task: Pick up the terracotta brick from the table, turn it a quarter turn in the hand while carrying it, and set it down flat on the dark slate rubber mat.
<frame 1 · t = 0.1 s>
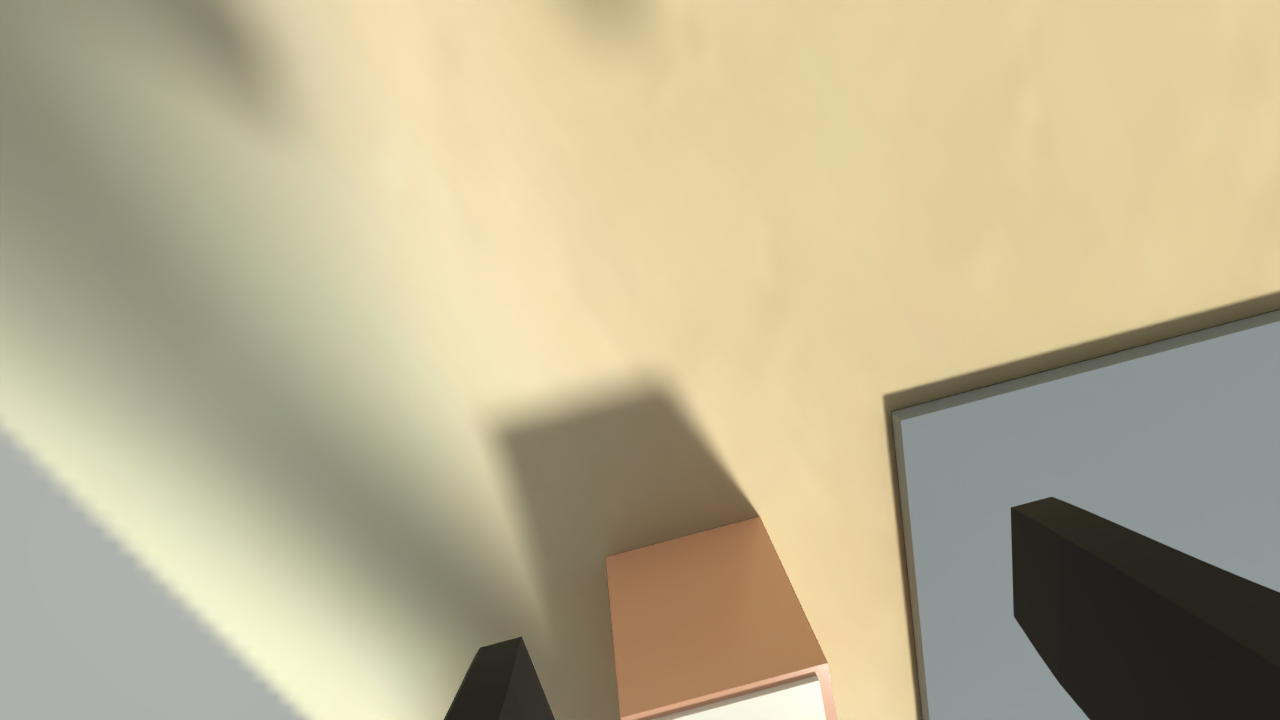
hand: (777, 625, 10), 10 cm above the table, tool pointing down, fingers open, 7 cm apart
brick: (709, 639, 23), on the table
mat: (1106, 560, 23), on the table
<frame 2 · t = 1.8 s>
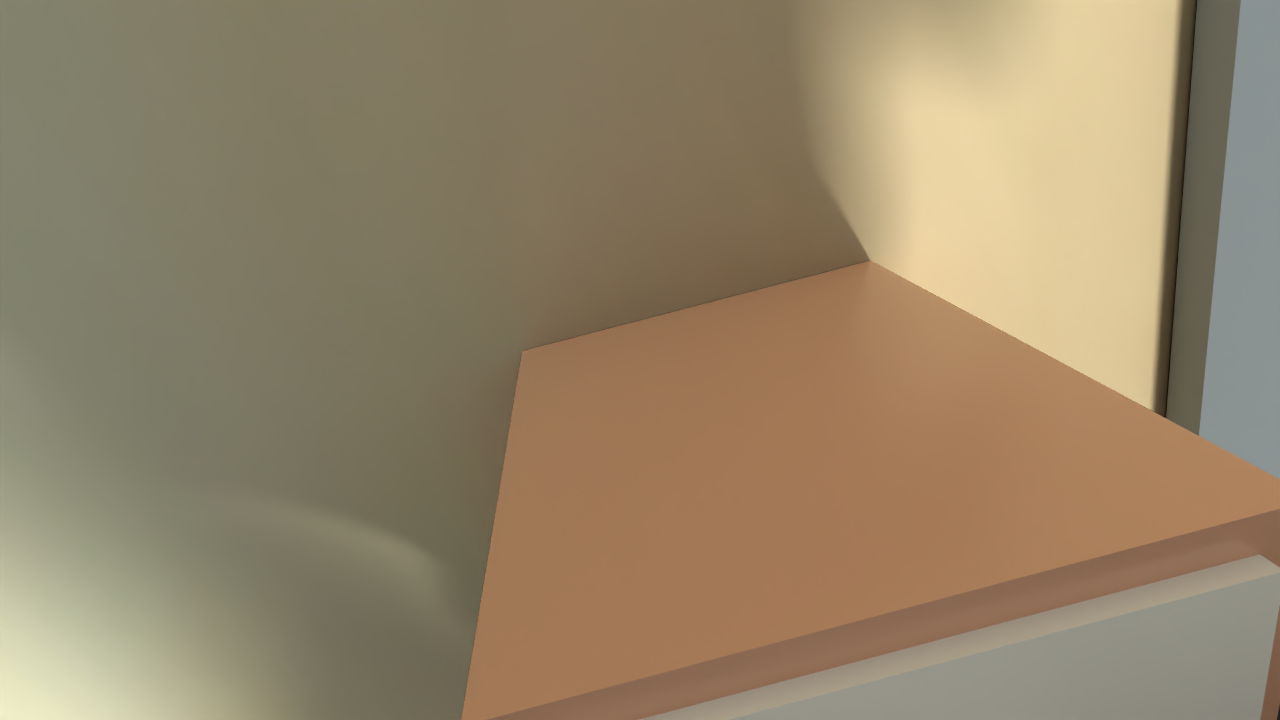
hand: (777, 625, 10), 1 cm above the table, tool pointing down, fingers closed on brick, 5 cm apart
brick: (751, 560, 11), on the table, touching gripper
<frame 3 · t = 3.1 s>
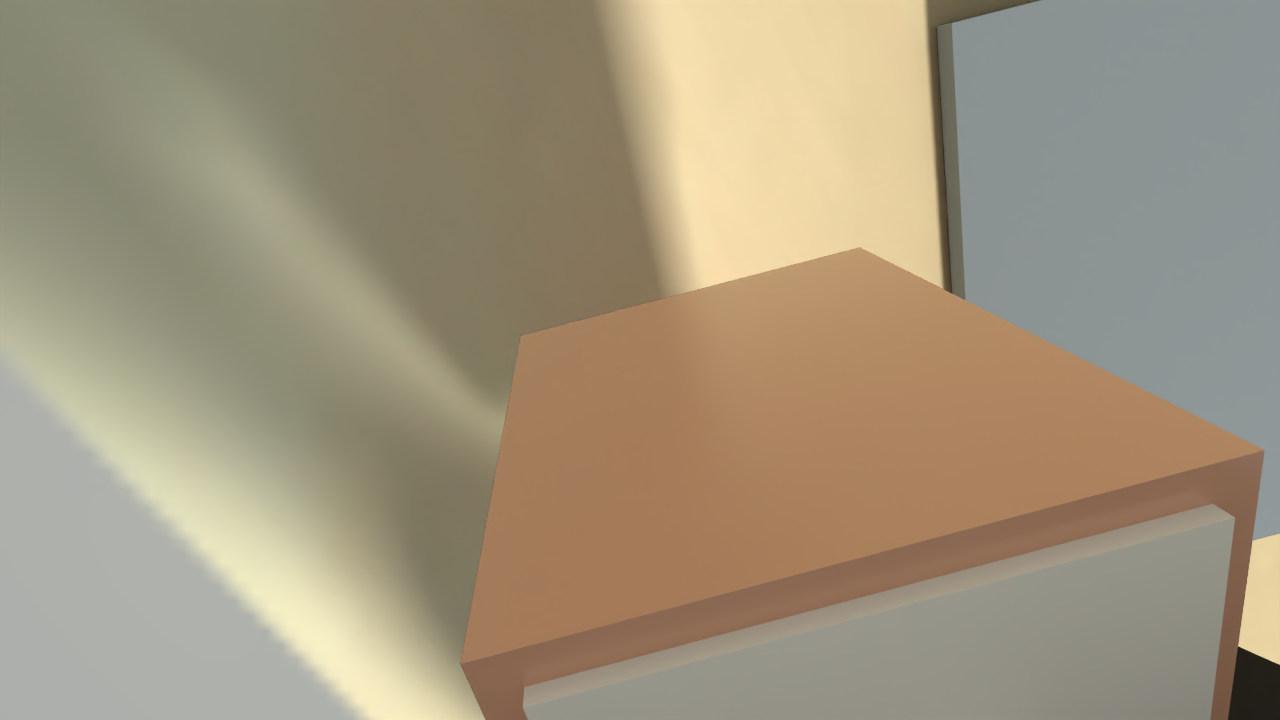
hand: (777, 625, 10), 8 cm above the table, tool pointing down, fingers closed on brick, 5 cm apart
brick: (745, 542, 11), point 6 cm above the table, touching gripper
mat: (1216, 294, 17), on the table
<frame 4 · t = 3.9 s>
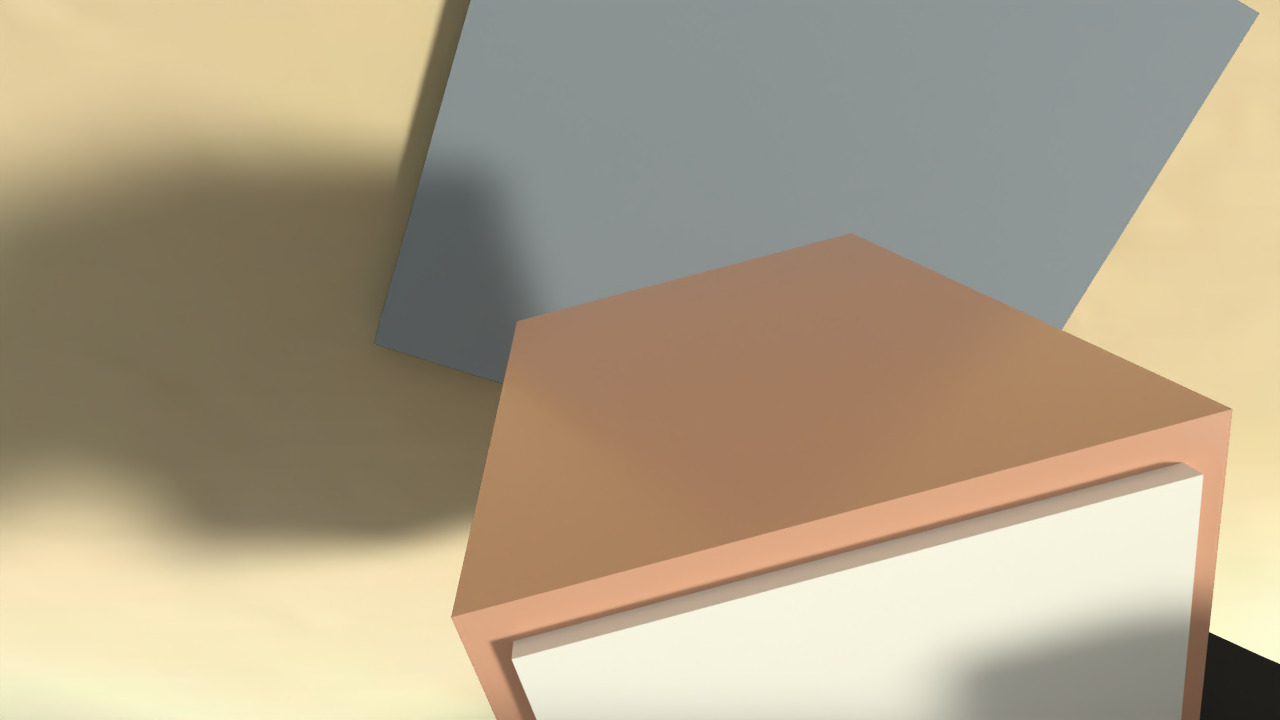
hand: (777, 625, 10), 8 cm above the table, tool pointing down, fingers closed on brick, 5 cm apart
brick: (740, 528, 11), point 6 cm above the table, touching gripper
mat: (798, 178, 16), on the table
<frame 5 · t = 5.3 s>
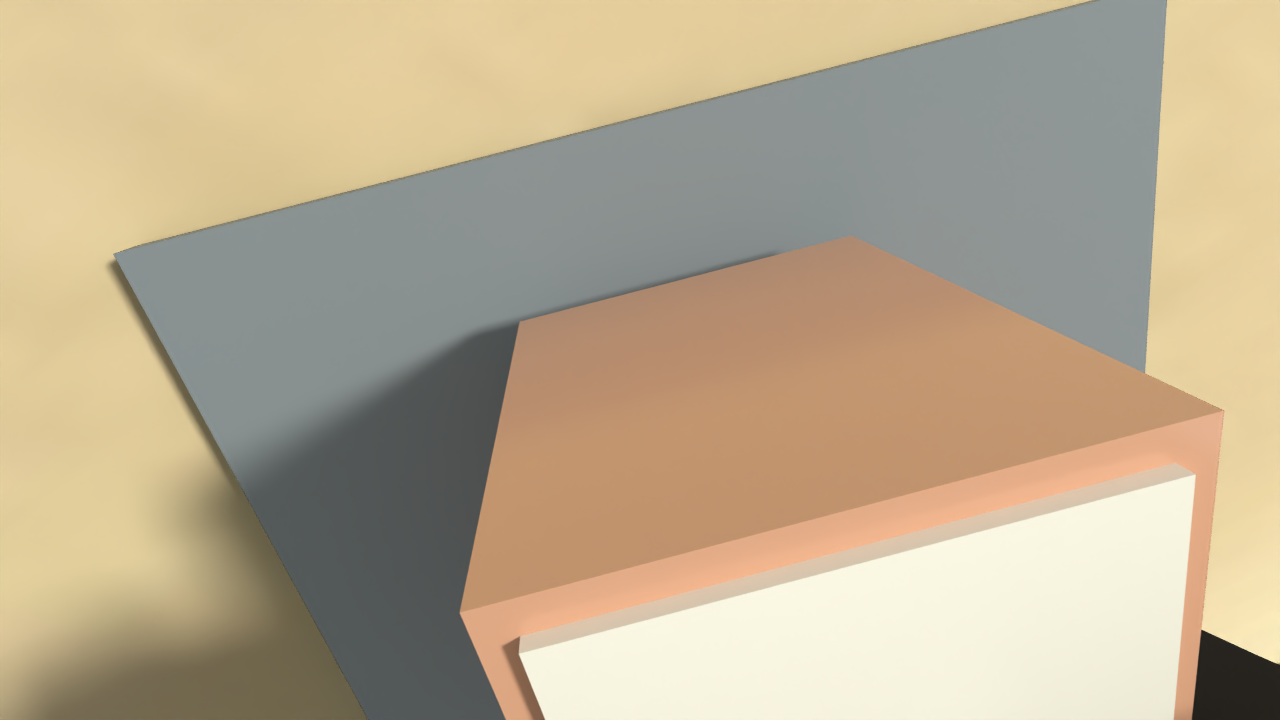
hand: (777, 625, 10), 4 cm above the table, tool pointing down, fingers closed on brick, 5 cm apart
brick: (740, 527, 11), point 2 cm above the table, touching gripper
mat: (723, 489, 13), on the table
when the fingers open (3 cm above the table, at t = 6.2 s): brick stays where it is, resting on mat.
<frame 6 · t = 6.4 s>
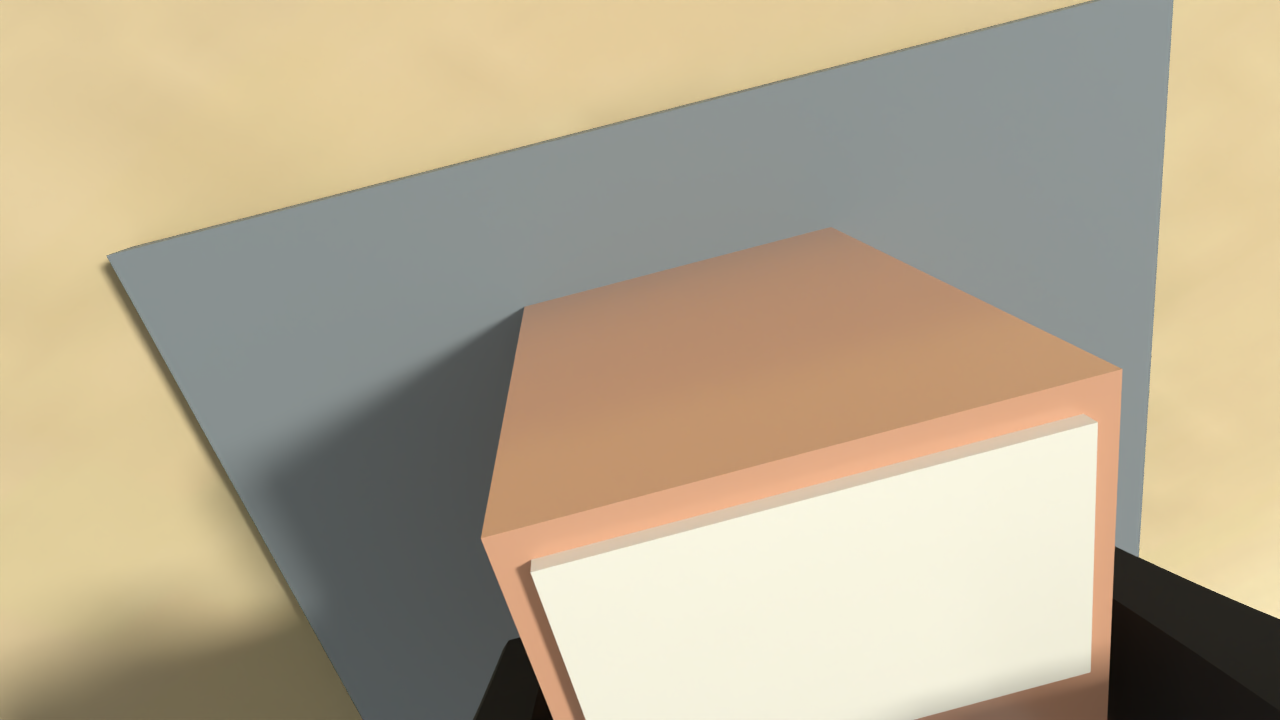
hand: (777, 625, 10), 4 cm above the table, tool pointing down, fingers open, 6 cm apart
brick: (729, 500, 12), point 1 cm above the table, touching mat
mat: (724, 492, 13), on the table
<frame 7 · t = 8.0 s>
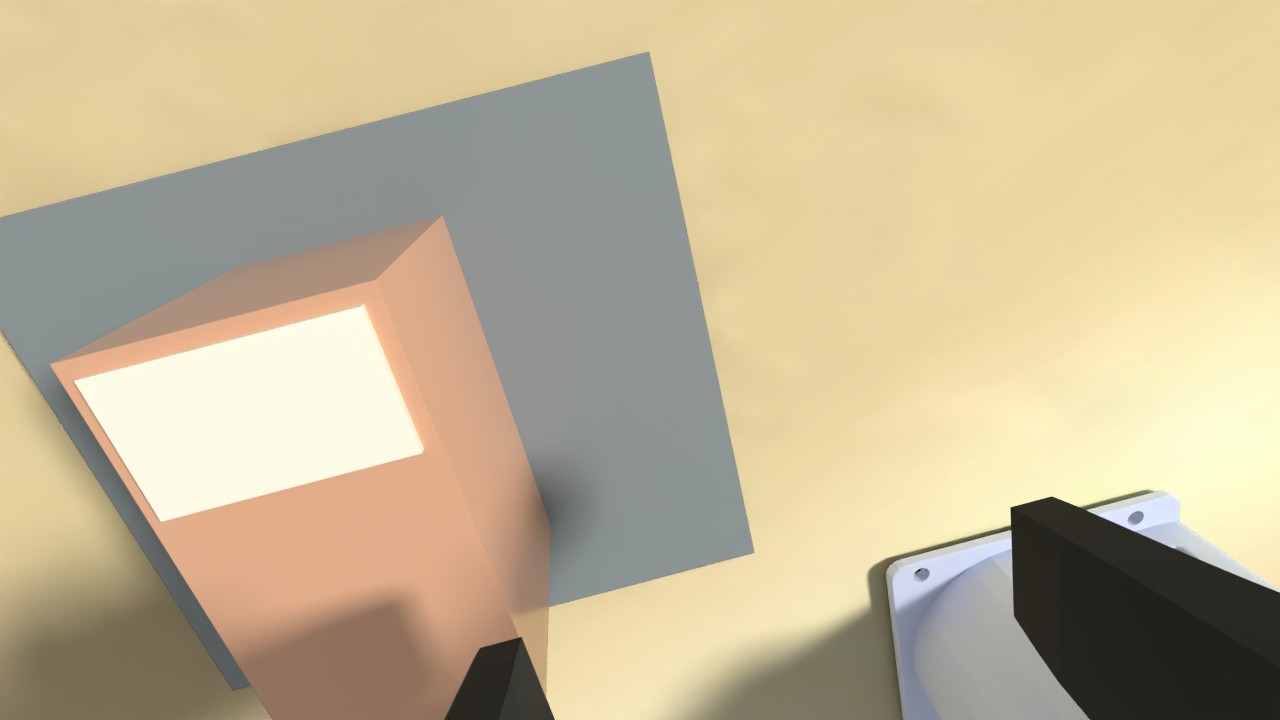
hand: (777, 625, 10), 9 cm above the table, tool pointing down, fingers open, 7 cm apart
brick: (407, 410, 17), point 1 cm above the table, touching mat
mat: (415, 407, 18), on the table
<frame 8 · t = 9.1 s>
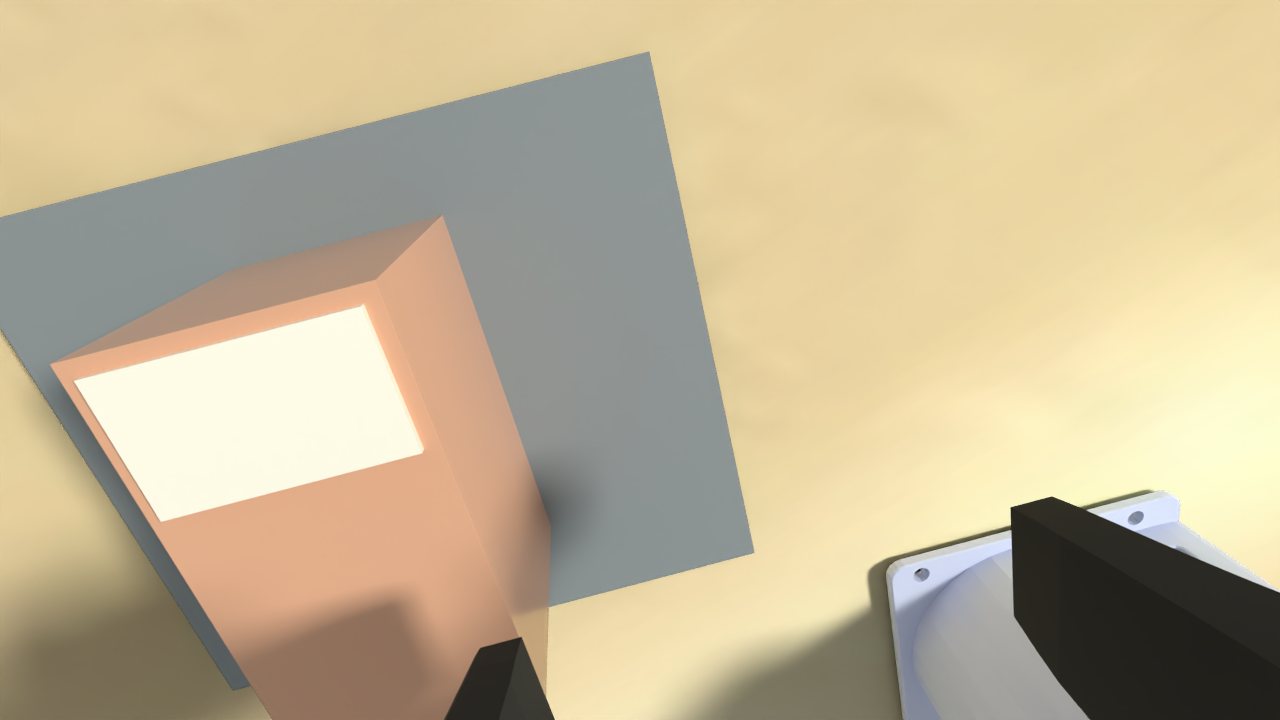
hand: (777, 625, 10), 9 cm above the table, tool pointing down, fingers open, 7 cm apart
brick: (407, 410, 17), point 1 cm above the table, touching mat
mat: (415, 407, 18), on the table
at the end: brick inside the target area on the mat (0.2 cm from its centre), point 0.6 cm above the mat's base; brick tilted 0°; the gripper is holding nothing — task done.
